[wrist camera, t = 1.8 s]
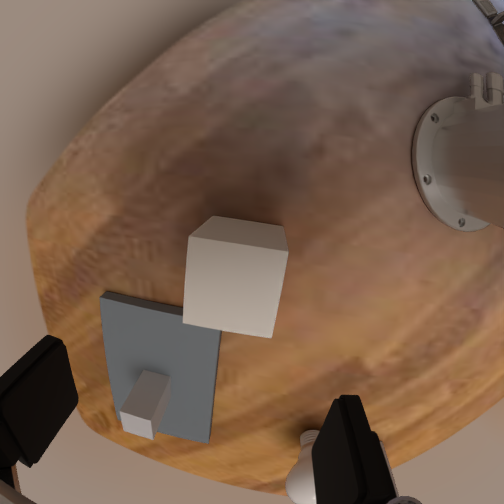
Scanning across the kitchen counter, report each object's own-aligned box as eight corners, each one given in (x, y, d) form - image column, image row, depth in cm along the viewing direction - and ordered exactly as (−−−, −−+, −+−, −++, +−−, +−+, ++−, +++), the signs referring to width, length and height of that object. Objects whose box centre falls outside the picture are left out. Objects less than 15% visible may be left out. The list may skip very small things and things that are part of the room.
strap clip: (464, -7, 15) (481, -20, 11) (476, -10, 15) (493, -22, 11) (506, 54, 17) (528, 47, 13) (516, 49, 16) (537, 42, 12)
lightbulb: (274, 438, 31) (273, 512, 21) (304, 410, 30) (311, 490, 19) (315, 450, 32) (322, 518, 21) (346, 424, 30) (362, 496, 20)
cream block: (213, 215, 24) (188, 236, 17) (283, 226, 24) (288, 251, 17) (206, 280, 26) (182, 323, 19) (271, 291, 26) (271, 338, 19)
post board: (106, 291, 27) (62, 329, 19) (223, 315, 27) (206, 368, 19) (121, 412, 32) (98, 454, 24) (210, 435, 32) (199, 484, 24)
